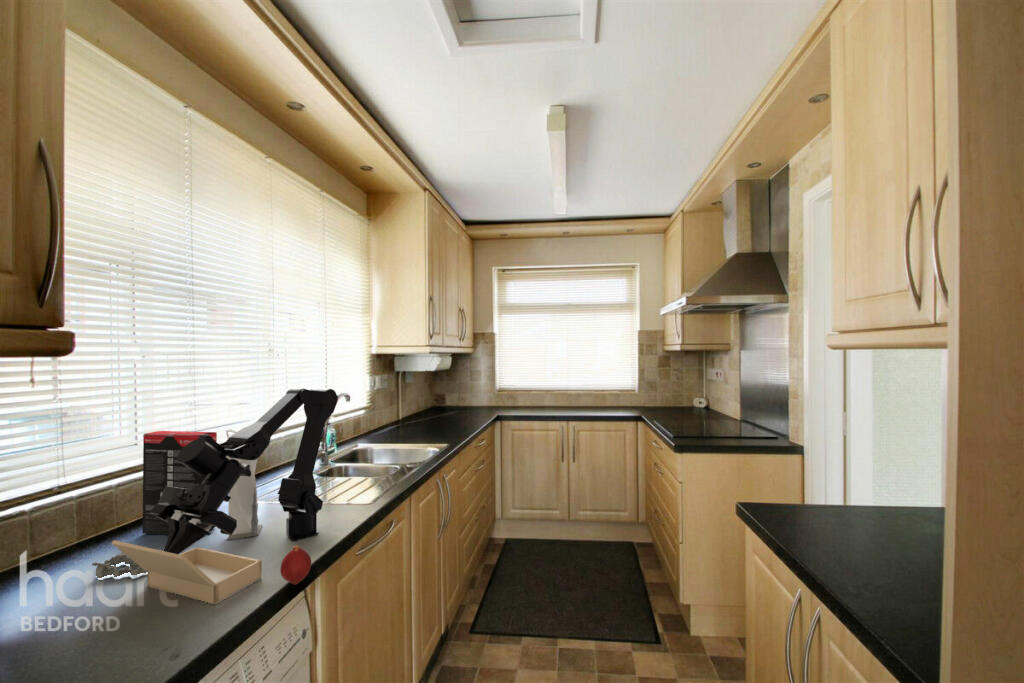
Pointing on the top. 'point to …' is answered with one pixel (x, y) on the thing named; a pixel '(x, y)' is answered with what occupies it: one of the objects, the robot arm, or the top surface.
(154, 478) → the graphics card box
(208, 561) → the mailer box
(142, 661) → the top surface
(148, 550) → the lid
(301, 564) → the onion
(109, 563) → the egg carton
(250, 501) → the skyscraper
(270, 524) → the top surface
